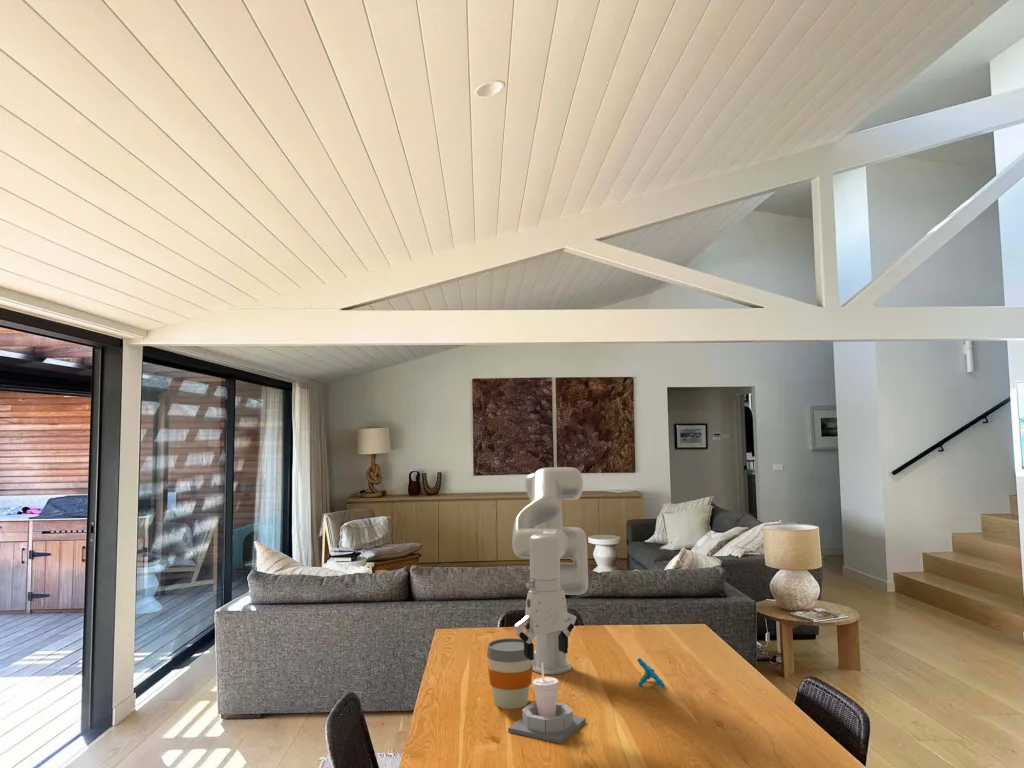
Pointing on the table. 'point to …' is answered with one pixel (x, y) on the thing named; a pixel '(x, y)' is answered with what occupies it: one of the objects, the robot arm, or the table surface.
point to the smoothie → (546, 694)
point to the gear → (649, 674)
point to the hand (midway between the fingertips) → (546, 655)
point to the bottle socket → (547, 723)
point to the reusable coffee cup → (509, 672)
